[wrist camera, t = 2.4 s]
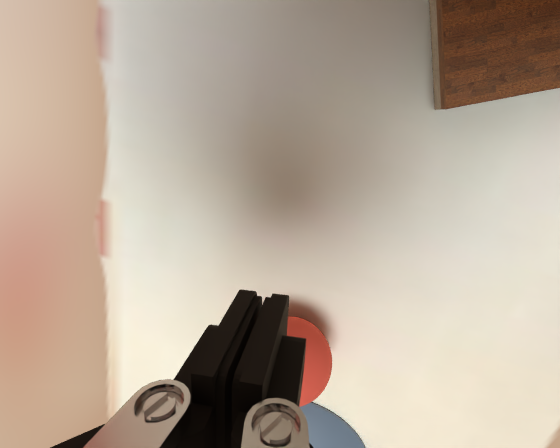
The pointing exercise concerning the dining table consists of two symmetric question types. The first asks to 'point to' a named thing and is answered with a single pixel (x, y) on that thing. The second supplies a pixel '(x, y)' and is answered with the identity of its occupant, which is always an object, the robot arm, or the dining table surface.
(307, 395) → the ball
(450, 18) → the display case
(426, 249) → the dining table surface
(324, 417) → the disc
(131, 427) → the robot arm
